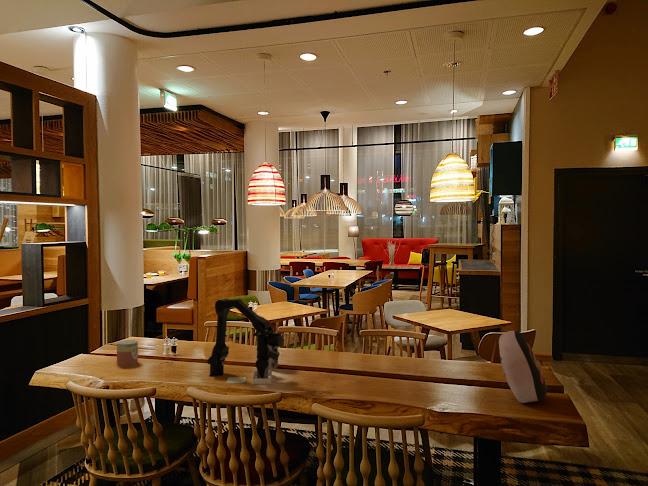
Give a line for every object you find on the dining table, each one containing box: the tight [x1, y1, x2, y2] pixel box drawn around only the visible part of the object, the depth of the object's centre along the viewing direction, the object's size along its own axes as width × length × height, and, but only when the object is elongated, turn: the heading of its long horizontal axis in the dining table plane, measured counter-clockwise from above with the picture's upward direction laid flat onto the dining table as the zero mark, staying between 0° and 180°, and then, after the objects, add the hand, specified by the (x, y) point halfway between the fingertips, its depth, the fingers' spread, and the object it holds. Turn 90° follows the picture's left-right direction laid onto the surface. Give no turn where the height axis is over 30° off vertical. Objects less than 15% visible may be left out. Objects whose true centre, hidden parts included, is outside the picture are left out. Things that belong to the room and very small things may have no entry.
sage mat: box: [225, 376, 247, 384], centre depth 233 cm, size 9×9×1 cm
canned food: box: [116, 339, 139, 367], centre depth 268 cm, size 11×11×12 cm
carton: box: [252, 368, 273, 385], centre depth 235 cm, size 9×15×4 cm, turn 5°
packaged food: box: [498, 330, 548, 404], centre depth 206 cm, size 22×20×30 cm
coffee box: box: [268, 345, 279, 371], centre depth 258 cm, size 9×6×16 cm
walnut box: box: [256, 367, 269, 379], centre depth 235 cm, size 6×4×6 cm
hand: (262, 376), depth 235 cm, fingers open, 9 cm apart
